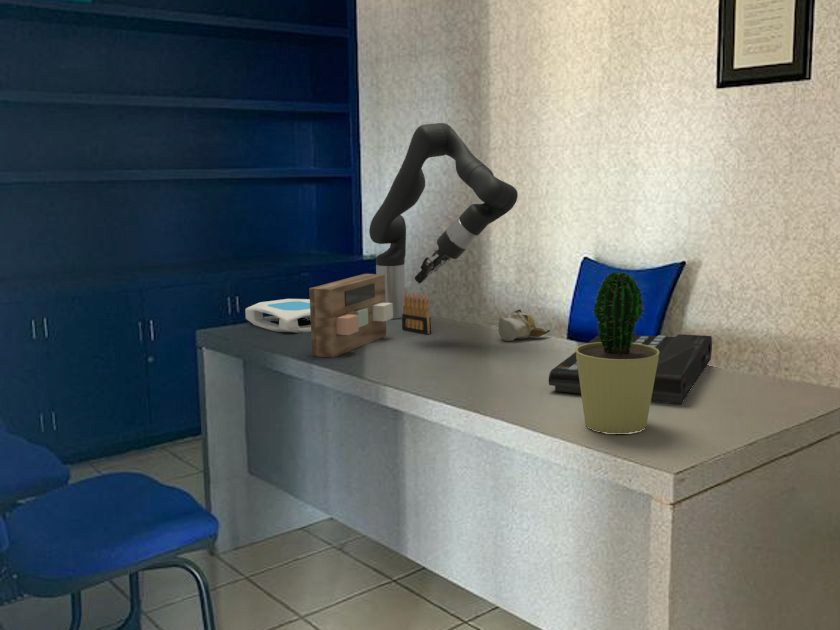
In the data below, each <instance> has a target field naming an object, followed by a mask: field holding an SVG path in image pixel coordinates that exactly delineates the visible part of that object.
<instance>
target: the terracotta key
mask: <svg viewBox="0 0 840 630" xmlns="http://www.w3.org/2000/svg"><path fill="white" fill-rule="evenodd" d="M358 331H359V325H358V315H350V314H343V315H340V316H337V317H336V334H340V335H350V334H353V333H355V332H358Z"/></svg>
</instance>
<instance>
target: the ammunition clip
mask: <svg viewBox="0 0 840 630" xmlns="http://www.w3.org/2000/svg"><path fill="white" fill-rule="evenodd" d="M431 321H432V319H431V316H430V306H429V297H428V293H425V295H424V294H423V292H422V293H421V294H420V293H419V292H417V293H416V294H415V292H412V293H411V291H408V299H407V293H406V291H405V292H404V301H403V314H402V318H401V331H402V330H403V332H409V333H415V334H420V335H425V336H428V335H432V326H431V325H432V323H431Z"/></svg>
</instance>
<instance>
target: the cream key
mask: <svg viewBox="0 0 840 630" xmlns="http://www.w3.org/2000/svg"><path fill="white" fill-rule="evenodd" d="M372 312H373V321H383V322H384V321H386V322H387V321H389V320H393V319H392V318H393V303H382V302H379V303H376V304H373V305H372Z"/></svg>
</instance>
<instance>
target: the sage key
mask: <svg viewBox="0 0 840 630" xmlns="http://www.w3.org/2000/svg"><path fill="white" fill-rule="evenodd" d="M355 315H358V325H359V327H361V326H364V325H367V324H368V308H361V309H358V310H355Z"/></svg>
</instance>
